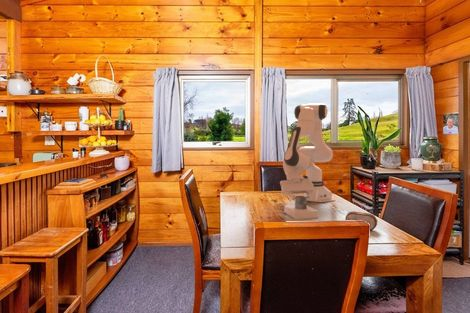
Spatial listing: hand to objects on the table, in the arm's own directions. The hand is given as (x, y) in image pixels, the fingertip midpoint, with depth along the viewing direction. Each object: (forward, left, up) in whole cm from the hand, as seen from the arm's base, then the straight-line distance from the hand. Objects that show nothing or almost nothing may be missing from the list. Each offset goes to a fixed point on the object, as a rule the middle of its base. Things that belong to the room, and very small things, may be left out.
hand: (301, 198), depth 184 cm
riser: (0, 0, -10) cm, 10 cm away
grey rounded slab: (-18, +32, -10) cm, 38 cm away
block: (0, 0, -6) cm, 6 cm away
